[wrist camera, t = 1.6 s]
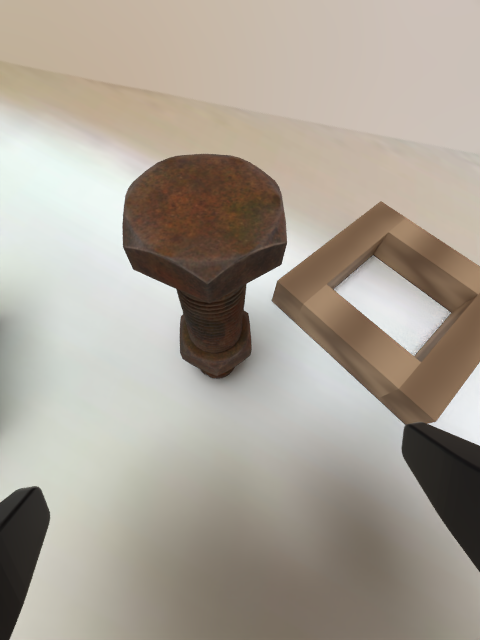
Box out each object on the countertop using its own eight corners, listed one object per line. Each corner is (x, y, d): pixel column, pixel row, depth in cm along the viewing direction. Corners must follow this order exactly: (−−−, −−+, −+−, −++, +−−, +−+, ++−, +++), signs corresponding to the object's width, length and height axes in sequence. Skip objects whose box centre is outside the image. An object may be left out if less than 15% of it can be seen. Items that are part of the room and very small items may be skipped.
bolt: (264, 348, 23) (316, 184, 10) (236, 406, 21) (255, 296, 8) (200, 318, 24) (169, 133, 11) (168, 371, 22) (77, 219, 9)
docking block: (495, 315, 25) (526, 297, 23) (408, 427, 21) (435, 421, 18) (367, 225, 30) (381, 201, 27) (271, 300, 25) (277, 280, 22)
